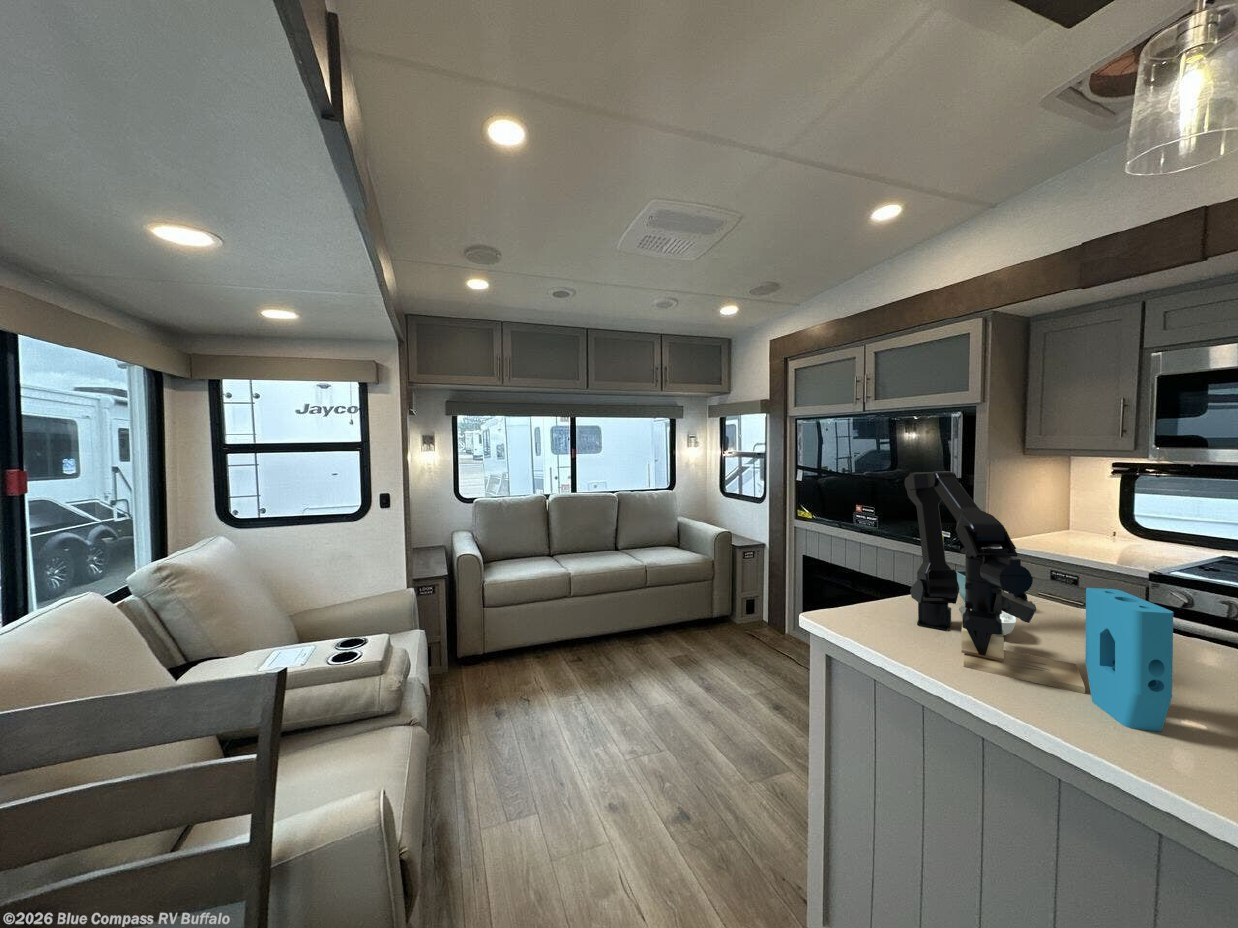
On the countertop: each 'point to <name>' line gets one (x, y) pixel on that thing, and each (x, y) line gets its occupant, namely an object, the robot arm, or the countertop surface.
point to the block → (1129, 657)
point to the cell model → (1006, 618)
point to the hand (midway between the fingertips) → (982, 650)
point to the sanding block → (993, 650)
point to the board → (1030, 669)
